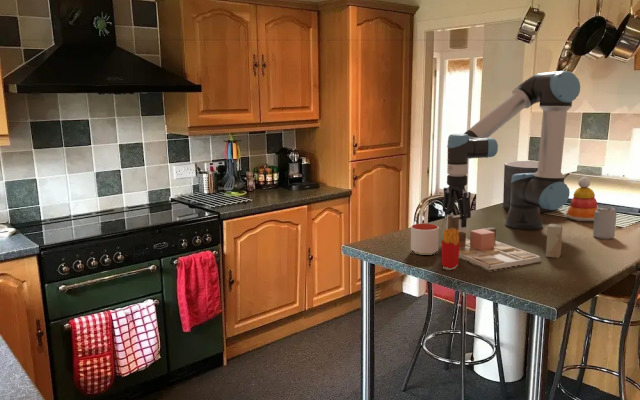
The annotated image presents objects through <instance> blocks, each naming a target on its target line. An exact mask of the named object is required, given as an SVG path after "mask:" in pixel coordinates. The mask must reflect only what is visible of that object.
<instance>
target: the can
mask: <svg viewBox="0 0 640 400" xmlns="http://www.w3.org/2000/svg"><path fill="white" fill-rule="evenodd" d="M617 214H618V212H616V208H614V207H611V206H597V210H596V211H595V216H594V221H593V229H592V236H594V237H595V238H596V239H599V240H612V239H613V238H614V237H615V236H616V225H617V223H616V222H617Z"/></svg>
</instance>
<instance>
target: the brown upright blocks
mask: <svg viewBox="0 0 640 400" xmlns="http://www.w3.org/2000/svg"><path fill="white" fill-rule="evenodd" d="M459 218H460V214H457V215H453V216H449V217H448V229H450V228H452V229H453V228H455V229H456V230H457V229H458V230H459ZM450 230H451V229H450ZM466 246H467V247H470V238H467V237H466ZM470 248H472V247H470ZM472 249H475V248H472ZM475 250H477V251H480V250H478V249H475ZM480 252H482V253H485V254H487V255H490V254H496V253H499V250H497V249H488V250H482V251H480Z"/></svg>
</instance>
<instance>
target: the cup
mask: <svg viewBox="0 0 640 400" xmlns="http://www.w3.org/2000/svg"><path fill="white" fill-rule="evenodd" d="M439 231H440V227H439V226H438V225H436V224H433V223H415V224H412V225H411V226H410V251H411V250H413V251H415V252H419V253H433V252H436V251H438V252H439V245H440V244H439V241H440V240H439V236H440V233H439Z"/></svg>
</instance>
